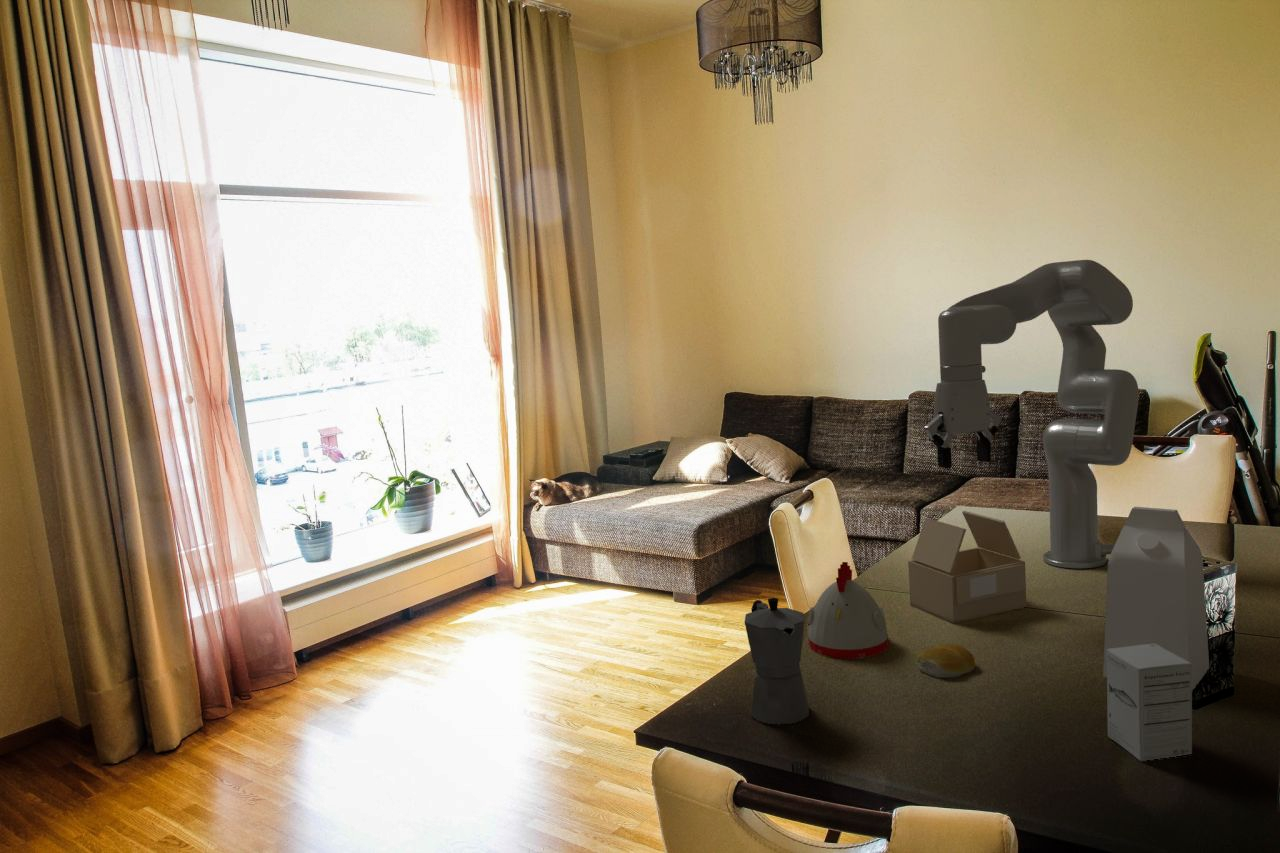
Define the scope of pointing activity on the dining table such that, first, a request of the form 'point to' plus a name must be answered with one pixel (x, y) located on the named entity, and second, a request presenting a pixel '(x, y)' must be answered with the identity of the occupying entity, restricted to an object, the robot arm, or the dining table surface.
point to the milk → (1157, 589)
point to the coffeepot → (776, 663)
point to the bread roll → (946, 661)
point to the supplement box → (1149, 701)
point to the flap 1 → (938, 544)
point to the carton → (969, 586)
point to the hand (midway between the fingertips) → (964, 464)
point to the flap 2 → (991, 534)
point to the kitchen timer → (847, 620)
